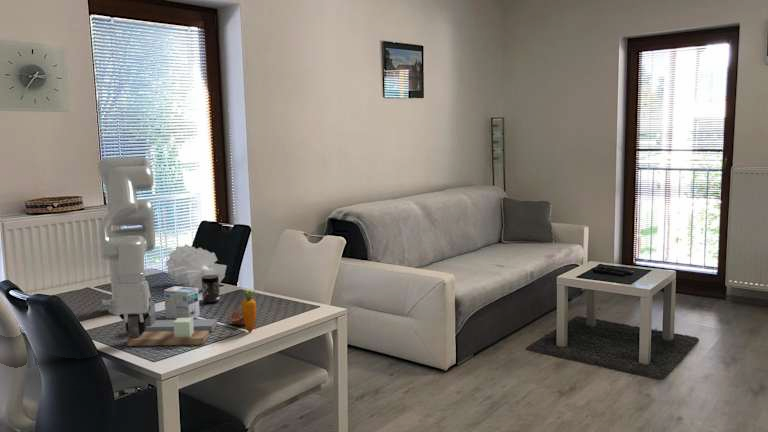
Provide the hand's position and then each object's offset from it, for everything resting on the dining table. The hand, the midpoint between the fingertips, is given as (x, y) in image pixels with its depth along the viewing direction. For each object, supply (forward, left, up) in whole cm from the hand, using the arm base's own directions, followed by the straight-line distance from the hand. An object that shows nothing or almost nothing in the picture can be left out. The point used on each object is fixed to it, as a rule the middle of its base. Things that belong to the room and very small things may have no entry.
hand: (136, 332), depth 213 cm
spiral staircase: (+2, +73, -4) cm, 73 cm away
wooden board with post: (+10, 0, -3) cm, 11 cm away
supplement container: (+14, +48, -3) cm, 50 cm away
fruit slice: (+30, +17, -4) cm, 35 cm away
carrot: (+36, +8, -3) cm, 37 cm away
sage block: (+16, 0, -1) cm, 16 cm away
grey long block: (+10, +13, -3) cm, 17 cm away
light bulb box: (+8, +28, -4) cm, 29 cm away
